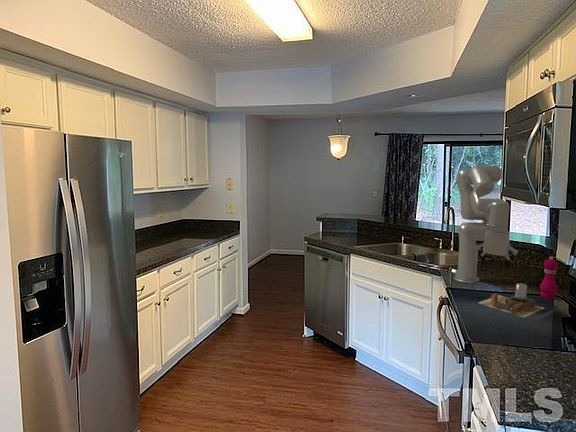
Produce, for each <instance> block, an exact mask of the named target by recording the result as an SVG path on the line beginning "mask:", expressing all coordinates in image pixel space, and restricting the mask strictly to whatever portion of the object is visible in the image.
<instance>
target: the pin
mask: <svg viewBox="0 0 576 432" xmlns="http://www.w3.org/2000/svg"><path fill="white" fill-rule="evenodd" d="M498 295H499V294H497V293H493V294H491V297H490V298H491V305H492V306H496V307H499V308H502V309H506V310H511V305H507V304H504V303H501V302H497V301H498Z"/></svg>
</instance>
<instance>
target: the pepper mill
mask: <svg viewBox="0 0 576 432" xmlns="http://www.w3.org/2000/svg"><path fill="white" fill-rule="evenodd" d="M543 267H544V271H543V272H544V278H543V280H542V281H541V283H540V285H539V289H540V297H541V298H544V299H547V300H548V299H549V300H550V299H552V300H553V299H555V298H556V295H557V294H556V292H557V291H558V284H557V281H556V279H555V277H556V274H557V269H558V268H559V262H557V260H555V259H554V256H549V257H548V259H545V260H544V262H543Z"/></svg>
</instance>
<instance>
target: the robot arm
mask: <svg viewBox="0 0 576 432" xmlns="http://www.w3.org/2000/svg"><path fill="white" fill-rule="evenodd" d="M502 176H503V174H502V170H501V168H500V167H499V166H498V165H495V164H494V165H493V164H492V165H487V164H486V165H484V164H483V165H481V164H480V165H475V166H473V167H471V168H463V169H461V170H459V171H457V174H456V184H457V185H456V186H457V188H458V191H459V195H460V200H459V201H460V215H461V218H462V219H463V220H467V221H469V222H463V223H461V224H460V225H459V226H458V227H457V228H458V231H457V233H458V260H457V261H458V262H457V268H456V269H455V268H452V269H451V273H452V274H455V276H453V279H454V280H455V281H457V282H459V283H462V284H463V283H464V284H477V283H479V282H480V278H479V277H477V273H478V257H479V255H480V258H481V259H480V263H481V265H482V266H484V265H486V261H487V256H486V255H493V256H494V255H495V256H499V257H500V256H502V257H505V258H506V259H505V265H504V267H505V268H504V269H505V270H507V269H509V268H510V267H511V260H512V259H513V258H515V257H516V255H517V254H518V253H519V250H517V249H515V248H514V247H513V246H511V245H510V244H511V243H510V242H511V240H510V233H509V232H508V230H509V229H508V228H509V218H510V217H509V214H510V204H509V202H508V201H506V200H504V199H502V198H484V196H487V195H489V194H491V193H492V192H493V191H494V189H495V184H496V183H497V184H498V183H499V182H500V181H501V179H502ZM470 221H471V222H470ZM472 221H473V222H472ZM475 221H482V222H475ZM474 241H477V242H478V241H484V242H481V243H480V244H476V243H475V242H474ZM482 247H483V248H482ZM510 251H511V252H512V254H511V255H510Z"/></svg>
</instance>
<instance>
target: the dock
mask: <svg viewBox="0 0 576 432" xmlns="http://www.w3.org/2000/svg"><path fill="white" fill-rule="evenodd" d="M497 302H501V303H504V304H507V305H511V310H506V309H502V308H499V307H496V306H492V305H491V297H490V298H487V299H485V300H482V301H479V302H478V304H480V305H483V306H486V307H490V308H492V309H496V310H498V311H499V310H500V311H502V312H505V313H509V314H512V315H515V316H517V317H518V316H519V317H521V318H526V317H529V316H531V315H533V314H536V313H537V312H540V311H542V310H544V309H545V307H543V306H539V305H536V300H533V299H530V298H527V297H526V303H524V304H523V303H520V302H516V301H515V295H513V296H509V297H507V296H504V295H500V294H498V301H497Z"/></svg>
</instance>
